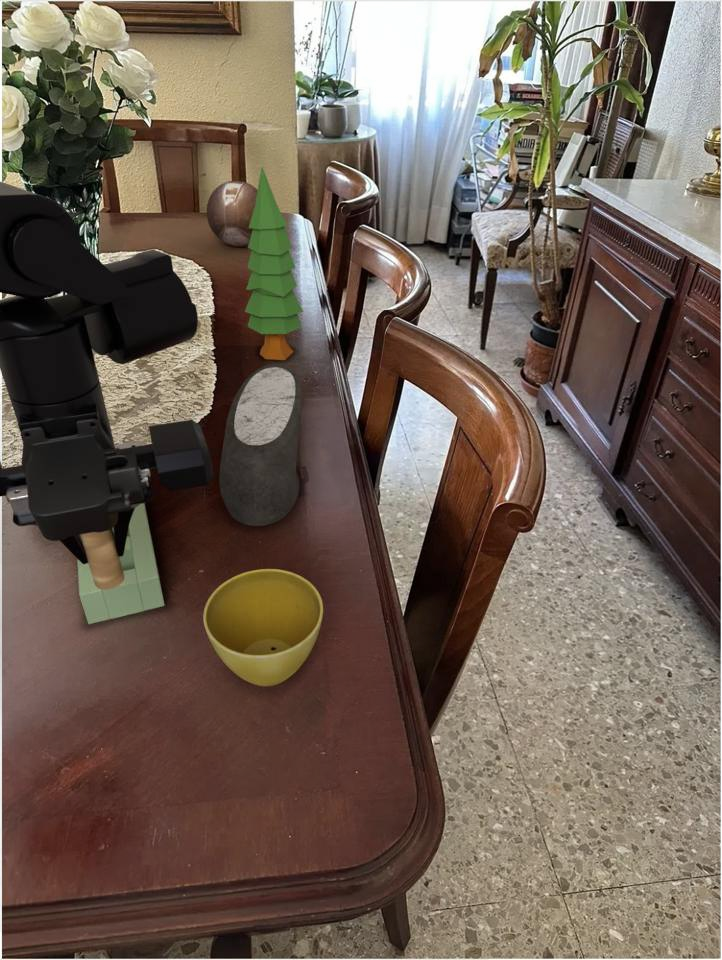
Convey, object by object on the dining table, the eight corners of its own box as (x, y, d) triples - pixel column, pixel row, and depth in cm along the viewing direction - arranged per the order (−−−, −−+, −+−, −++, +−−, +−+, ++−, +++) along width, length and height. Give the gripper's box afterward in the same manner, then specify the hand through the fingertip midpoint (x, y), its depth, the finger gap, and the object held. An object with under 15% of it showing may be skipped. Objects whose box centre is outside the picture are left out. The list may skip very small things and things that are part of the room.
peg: (95, 593, 54) (68, 505, 49) (93, 573, 56) (68, 487, 50) (125, 586, 55) (102, 499, 49) (123, 567, 56) (101, 481, 51)
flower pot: (335, 698, 58) (335, 642, 53) (217, 723, 55) (208, 667, 51) (311, 614, 65) (309, 560, 61) (207, 633, 63) (199, 579, 59)
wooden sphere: (209, 255, 159) (202, 188, 150) (210, 237, 171) (203, 175, 162) (272, 253, 161) (268, 187, 153) (268, 236, 173) (265, 174, 165)
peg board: (88, 624, 64) (79, 595, 61) (81, 517, 77) (73, 489, 75) (164, 606, 66) (158, 577, 64) (144, 504, 79) (139, 477, 77)
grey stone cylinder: (293, 531, 76) (290, 463, 70) (217, 529, 76) (208, 461, 70) (310, 421, 96) (309, 361, 91) (250, 419, 96) (245, 360, 91)
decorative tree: (246, 363, 111) (230, 169, 94) (250, 340, 119) (236, 157, 101) (304, 363, 112) (298, 170, 94) (304, 340, 119) (299, 158, 102)
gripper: (-132, 476, 36) (-36, 663, 45) (214, 420, 41) (237, 598, 50) (-95, 384, 44) (-21, 558, 53) (188, 348, 50) (211, 511, 59)
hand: (103, 557), depth 54 cm, fingers closed on peg, 2 cm apart
